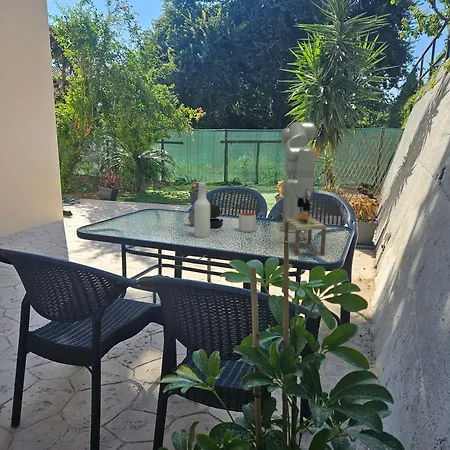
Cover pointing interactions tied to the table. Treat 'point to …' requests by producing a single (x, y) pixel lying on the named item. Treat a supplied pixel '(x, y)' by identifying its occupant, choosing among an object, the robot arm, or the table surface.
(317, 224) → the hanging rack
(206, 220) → the alcohol
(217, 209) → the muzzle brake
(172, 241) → the table surface
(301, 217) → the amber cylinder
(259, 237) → the table surface
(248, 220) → the cup
